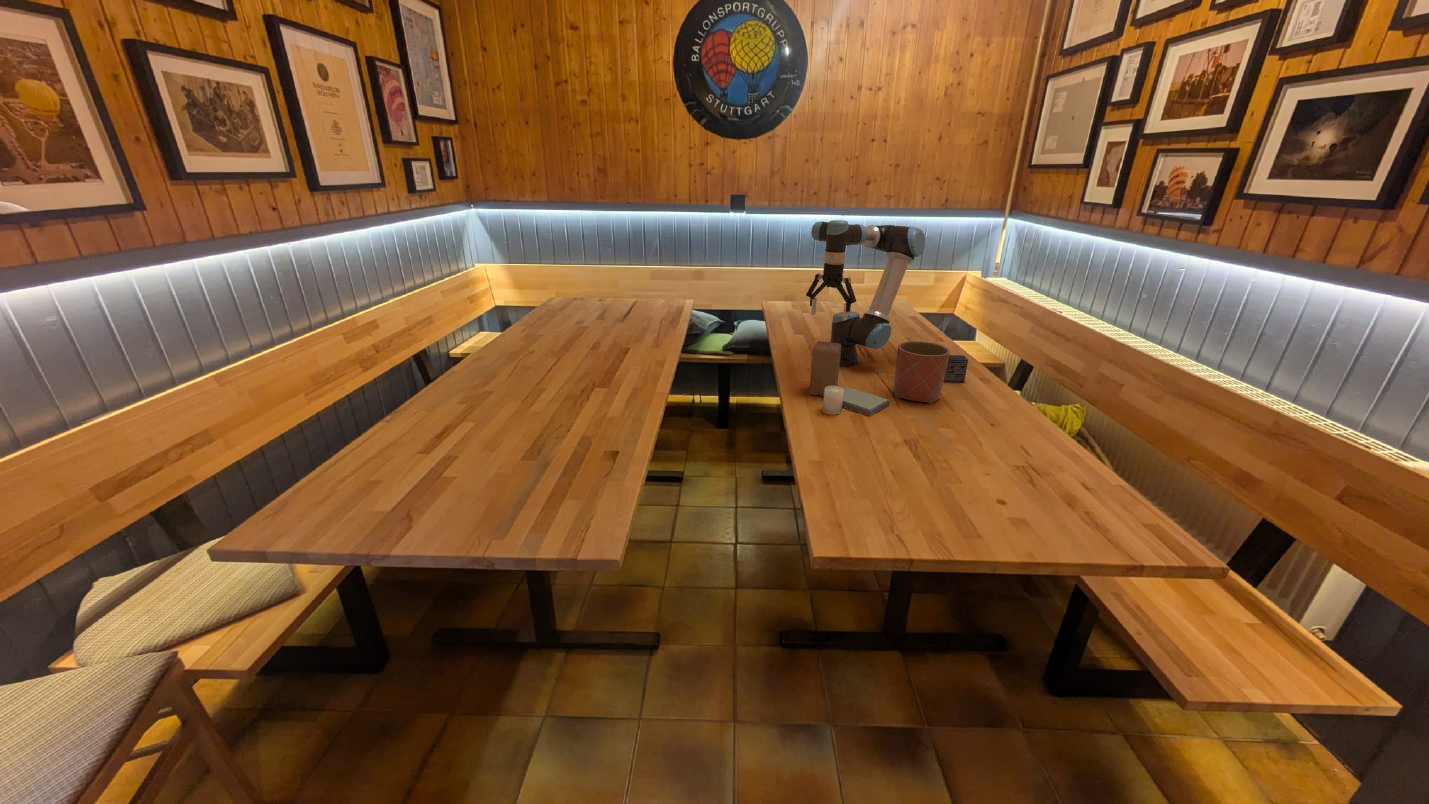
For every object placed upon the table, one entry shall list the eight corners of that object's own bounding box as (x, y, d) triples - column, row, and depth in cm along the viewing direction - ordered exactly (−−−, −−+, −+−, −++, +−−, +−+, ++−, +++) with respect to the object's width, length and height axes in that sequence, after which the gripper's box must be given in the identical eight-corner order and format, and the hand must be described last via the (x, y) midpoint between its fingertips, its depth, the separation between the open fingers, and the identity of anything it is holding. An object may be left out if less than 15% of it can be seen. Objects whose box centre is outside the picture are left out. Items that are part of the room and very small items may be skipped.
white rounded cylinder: (818, 411, 208) (820, 389, 204) (829, 405, 212) (831, 384, 209) (834, 416, 203) (837, 394, 200) (845, 411, 208) (847, 389, 204)
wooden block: (837, 389, 227) (841, 342, 219) (833, 398, 219) (838, 350, 211) (812, 386, 230) (816, 340, 222) (808, 395, 222) (812, 347, 214)
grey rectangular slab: (826, 401, 216) (827, 395, 215) (846, 392, 225) (847, 386, 224) (870, 416, 204) (870, 410, 203) (889, 405, 213) (889, 399, 212)
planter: (943, 391, 227) (951, 344, 219) (939, 408, 211) (948, 358, 203) (894, 383, 234) (901, 338, 226) (887, 400, 218) (894, 351, 210)
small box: (960, 377, 241) (964, 354, 237) (964, 383, 235) (969, 359, 231) (934, 376, 242) (939, 353, 238) (939, 382, 236) (943, 358, 232)
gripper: (800, 260, 216) (796, 314, 224) (861, 267, 203) (854, 324, 211) (809, 258, 222) (804, 310, 230) (869, 265, 208) (862, 320, 217)
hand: (828, 317), depth 220 cm, fingers open, 13 cm apart
